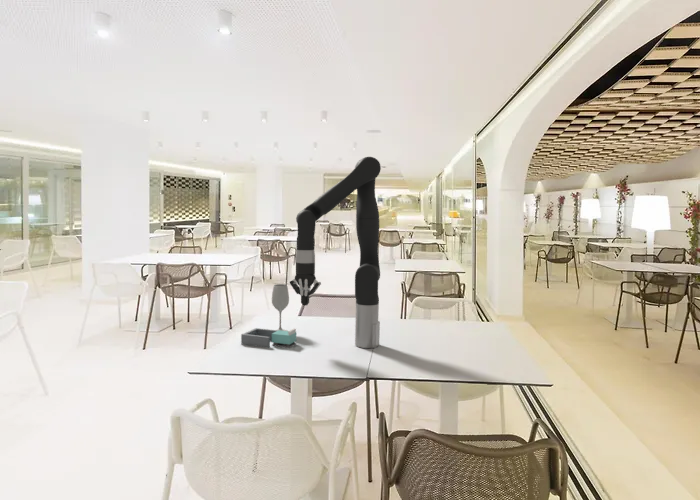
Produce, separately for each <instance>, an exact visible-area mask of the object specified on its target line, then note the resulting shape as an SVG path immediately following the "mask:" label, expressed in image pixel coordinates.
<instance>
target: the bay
mask: <svg viewBox="0 0 700 500" xmlns="http://www.w3.org/2000/svg"><path fill="white" fill-rule="evenodd" d="M276 331H278V329H268V328H261V327H260V328H258V327H256V328H253V329H251V330H248V331H246V332H244V333H242V334H241V335H240V337H241V338H240V339H241V340H240V343H241V345H244V346H253V347H261V348H271V347H270V346H271V345H270V344H271V341H272V333H274V332H276Z"/></svg>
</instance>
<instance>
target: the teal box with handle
mask: <svg viewBox="0 0 700 500" xmlns="http://www.w3.org/2000/svg"><path fill="white" fill-rule="evenodd" d="M296 329H297V328H292V329H290V330H288V331H281V330H278V329H277V330H278V331H276V332H274V333H272V340H271V343H272V347H280V348H288V349H289V348H292V347H293V346H295V345H297V343H296V342H297V331H296Z"/></svg>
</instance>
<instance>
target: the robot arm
mask: <svg viewBox="0 0 700 500" xmlns="http://www.w3.org/2000/svg"><path fill="white" fill-rule="evenodd" d="M381 167H382V166H381V162H380V161H379V160H378V159H376V158H375V157H373V156H365V157H362V158H361V159H360V160H358V161H357V162H356V164H355V166H354V169H353V170H351V172H350V173H349V174H348V175H347V176H345V177H343V178H342V179H341V180H340V181H339V182H337V183H336V184H334V185H333V186H331V187H330V188H328V189H327V190H326V191H324V192H323V193H322V194H320V196H318V197H317V198H316V199H315V200H314V201H313V202H312V203H310V204H309V205H307V206H306V207H305V208H303V209H302V210H301V211H299V212H298V213H297V215H296V218H295V219H296V225H297V237H296V252H295V258H294V260H295V275H294V279H292V280H291V281H289V284H290V286H291V287H292V289H293V290H294V292H295V293H296V295H300V303H301V304H302V306H308V304H309V303H310V296H311V295H313V294H315V292H316V291H317V290H318V288H319V287H320V286H321V285H322V283H321V281H318V280H317V278H316V253H315V251H316V250H315V233H316V222H317V221H318V220H319V219H321V218H322V217H323V216H326V215H327V214H329V212H331V211H332V210H334V209H335V208H336V207H337V206H338V205H339V204H340V203H342V202H343V201H344V200H345V199H346V198H348V196H350V195H351V194H352V193H354V192H355V191H356V211H355V212H356V213H355V226H356V227H355V229H356V236H357V241H358V245H359V253H360V256H359V257H360V258H359V266H358V267H357V269H356V271H355V275H354V296H355V325H354V326H355V329H354V330H355V334H354V335H355V337H354V338H355V339H354V342H355V343H354V345H355V347H358V348H362V349H376V348H378V346H379V345H380V330H381V327H380V326H381V325H380V324H381V323H380V321H379V315H380V314H379V313H380V312H379V308H380V307H379V303H380V301H379V300H380V299H379V280H380V279H381V268H380V259H379V240H380V213H379V208H378V207H379V206H378V202H377V199H376V179H377V177H378V176H379V175H380V173H381V169H382V168H381ZM312 285H313V286H312Z"/></svg>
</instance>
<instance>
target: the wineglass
mask: <svg viewBox="0 0 700 500" xmlns="http://www.w3.org/2000/svg"><path fill="white" fill-rule="evenodd" d="M289 295H290V294H289V288H288V284H285V283H284V284H283V283H282V284H280V283H279V284H278V283H277V284H276V283H275V284H273V288H272V293H271V304H272V306H273V308H274V309H276V310H277V311H278V314H279V325H278V326H279V327H278V329H277V330H281V331H289V330H287V329H283V328H282V312H283V311H284V310H285V309H286V308H287V307H288V305H289V303H290V296H289Z"/></svg>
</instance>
